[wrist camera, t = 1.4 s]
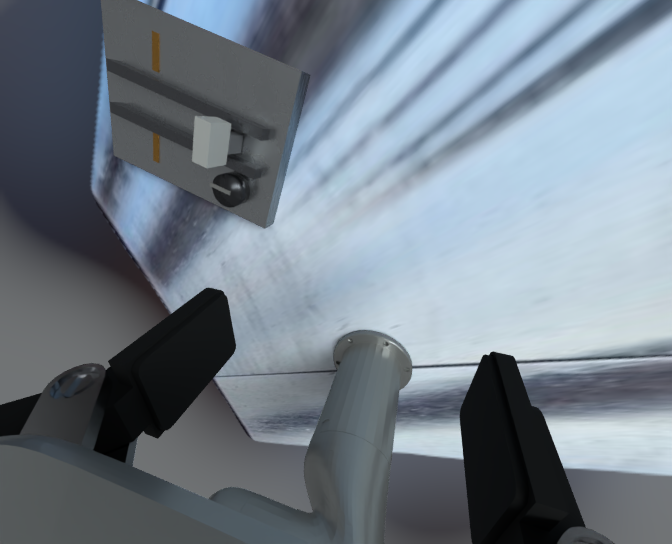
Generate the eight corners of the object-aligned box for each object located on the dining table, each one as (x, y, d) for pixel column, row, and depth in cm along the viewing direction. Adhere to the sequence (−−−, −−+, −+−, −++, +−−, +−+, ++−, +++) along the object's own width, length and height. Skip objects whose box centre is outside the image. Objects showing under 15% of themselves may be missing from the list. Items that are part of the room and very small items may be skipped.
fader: (239, 162, 33) (207, 168, 29) (224, 156, 34) (191, 161, 29) (245, 124, 31) (211, 123, 26) (229, 117, 31) (193, 115, 27)
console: (273, 223, 39) (256, 233, 35) (129, 154, 41) (98, 156, 37) (310, 74, 29) (292, 67, 26) (121, -7, 31) (77, -26, 27)
